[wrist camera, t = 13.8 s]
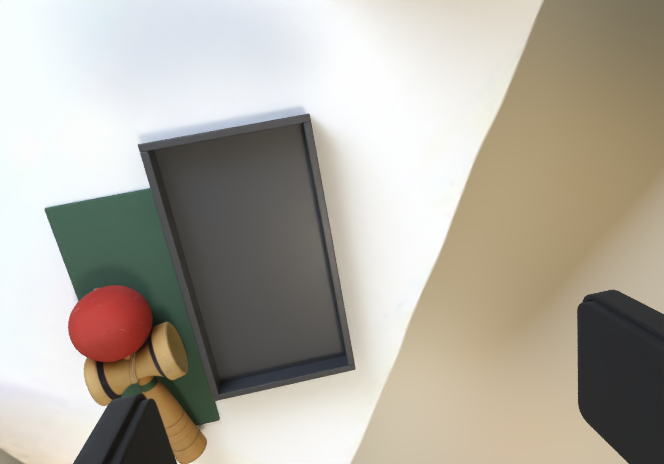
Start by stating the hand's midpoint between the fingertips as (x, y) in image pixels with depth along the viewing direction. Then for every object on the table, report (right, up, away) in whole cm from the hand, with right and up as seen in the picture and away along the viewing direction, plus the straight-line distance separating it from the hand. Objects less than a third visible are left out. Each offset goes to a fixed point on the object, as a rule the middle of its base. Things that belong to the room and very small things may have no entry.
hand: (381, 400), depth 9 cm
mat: (-18, -4, +28) cm, 34 cm away
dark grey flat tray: (-7, +1, +28) cm, 29 cm away
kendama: (-17, -8, +29) cm, 35 cm away
